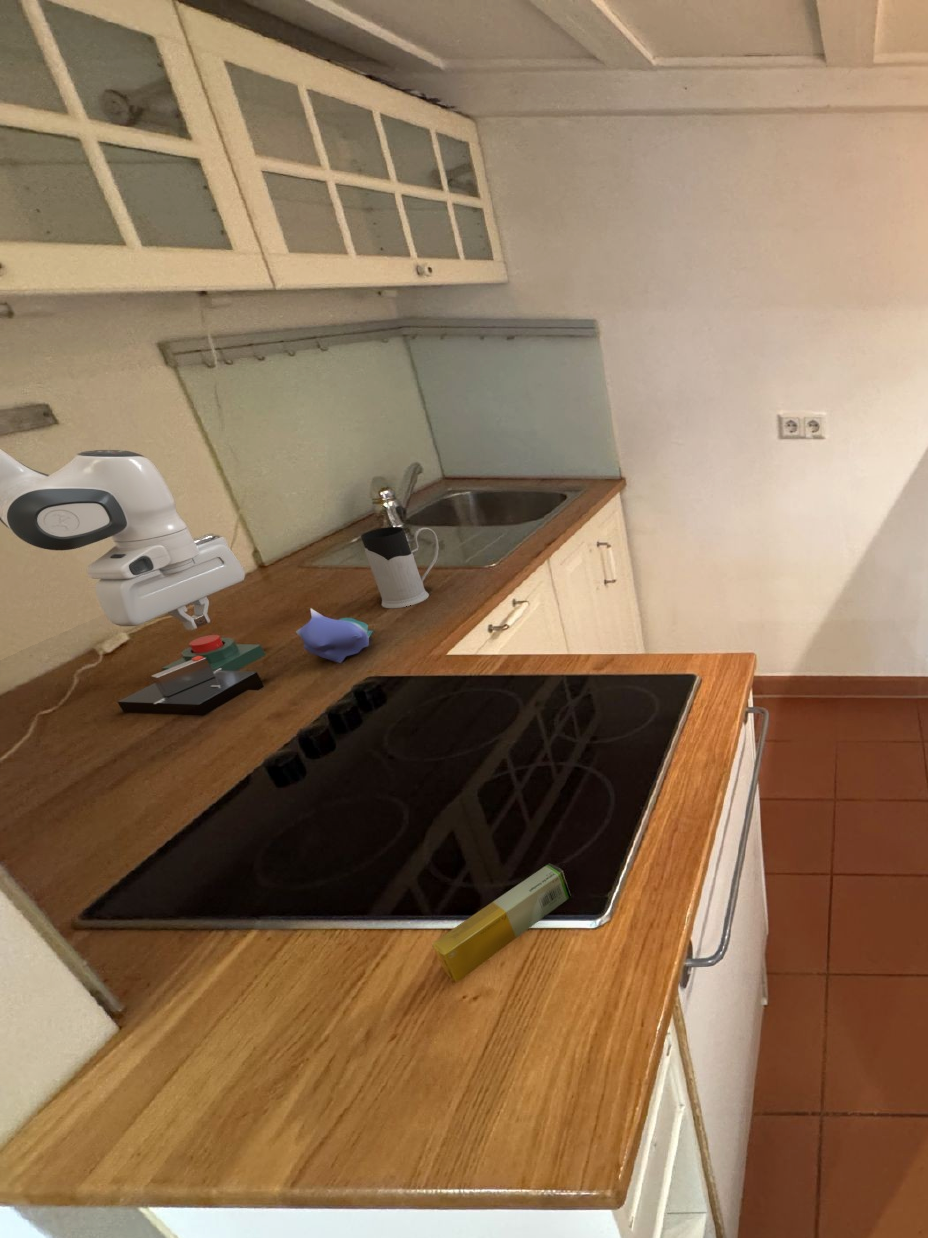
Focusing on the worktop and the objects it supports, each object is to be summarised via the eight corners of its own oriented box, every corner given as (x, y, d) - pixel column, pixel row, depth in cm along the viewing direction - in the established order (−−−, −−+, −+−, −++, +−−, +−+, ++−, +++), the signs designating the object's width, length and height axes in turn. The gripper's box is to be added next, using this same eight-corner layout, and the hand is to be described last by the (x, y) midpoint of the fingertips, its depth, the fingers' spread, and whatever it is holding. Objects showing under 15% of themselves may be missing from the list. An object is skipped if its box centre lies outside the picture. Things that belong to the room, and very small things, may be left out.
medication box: (560, 891, 71) (550, 860, 69) (575, 900, 69) (565, 869, 68) (443, 975, 62) (429, 942, 61) (457, 988, 60) (442, 954, 59)
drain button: (187, 654, 116) (182, 645, 115) (209, 643, 119) (205, 634, 119) (208, 654, 115) (203, 645, 115) (229, 643, 119) (225, 634, 118)
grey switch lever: (167, 696, 104) (156, 675, 102) (161, 695, 104) (149, 674, 103) (215, 676, 109) (205, 656, 108) (209, 675, 110) (199, 654, 108)
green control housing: (167, 679, 115) (156, 658, 114) (216, 654, 124) (207, 634, 122) (219, 680, 114) (208, 660, 113) (265, 655, 122) (256, 635, 121)
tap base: (124, 719, 104) (113, 702, 103) (191, 683, 114) (183, 667, 112) (204, 722, 103) (195, 704, 101) (266, 685, 112) (258, 669, 111)
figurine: (338, 676, 126) (345, 631, 128) (393, 667, 124) (398, 621, 126) (268, 660, 114) (277, 610, 116) (327, 649, 112) (335, 599, 114)
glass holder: (373, 602, 143) (348, 535, 136) (440, 580, 153) (420, 517, 147) (394, 611, 138) (369, 542, 132) (461, 588, 149) (441, 522, 142)
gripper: (204, 529, 119) (237, 601, 125) (73, 573, 101) (119, 654, 107) (235, 529, 118) (268, 601, 124) (109, 573, 100) (154, 655, 106)
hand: (198, 626), depth 116 cm, fingers closed
